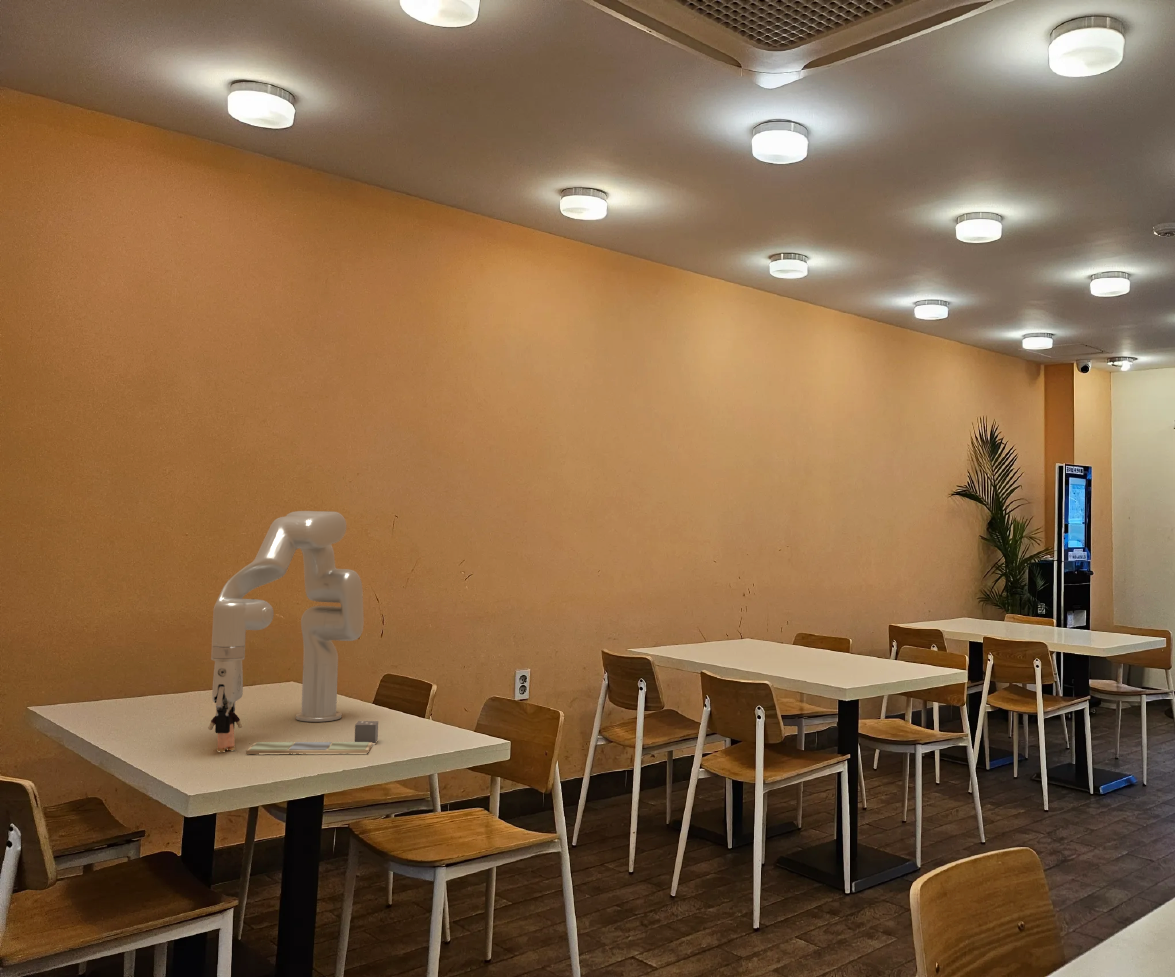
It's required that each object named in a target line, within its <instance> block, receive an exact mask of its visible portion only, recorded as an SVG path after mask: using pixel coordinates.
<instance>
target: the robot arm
mask: <svg viewBox="0 0 1175 977" xmlns="http://www.w3.org/2000/svg"><path fill="white" fill-rule="evenodd" d="M267 530H268V531H267V532H266V535H265V536H264V538H263V540H262V543H261V545H260V547H259V549H258V552H257V553H256V556H255V558H254V559H253V561H252V562H250V563H249V564H247V565H246V566H244V567H242V569H240V570H238V572H236V573H235V574H233V576H231V577H230V578H229V579H228V580H227V582H226V583H225V584H224V585H223V587H222V588H221V591H220V593H219V595H218V597H217V599H216V602H215V604H214V607H213V611H212V612H213V615H212V632H211V634H212V635H211V654H210V655H211V656H210V660H211V661H213V662H214V665H213V666H214V668H213V677H212V680H213V681H212V691H211V692H212V694H211V695H212V696H211V697H212V702H214V703H215V708H216V709H215V716H216V723H215V725H214V727H215V729H214V733H215V734H218V733H229V732H230V716H229V712H234V713H235V714H236V702H238V701H239V700H240V699H241V698H242V697H243V695H244V694H243V693H244V692H243V687H244V684H243V683H244V682H243V681H244V679H243V676H244V675H243V674H244V672H243V671H244V670H243V669H244V668H243V667H244V666H243V661H245V659H246V656H245V655H246V633H247V632H246V631H249V630H250V631H259V630H264V629H266V628H268V626H269V625H271V623H272V622H273V619H274V615H275V614H274V608H273V606H272V605H271V604H270V603H269V602H268V601H266V600H263V599H258V598H257V599H255V598H244V597H245V595H247V594H248V593H250V592H251V591H253V590H255V589H257V588H259V587H262V586H264V585H267V584H270V583H273V582H275V581H277V580H279V579H281V578H283V577H284V576H285V575H286V574H287V572H288V569H289V566H290V564H291V562H292V560H293V558H294V556H295V553H296V552H297V550H298V549H300V551H301V553H302V557H303V558H302V559H303V560H302V561H303V572H304V573H303V575H304V578H303V579H304V590H305V596H306V597H307V598H308V600H310V601H313V602H317V603H318V602H319V603H332V604H333V603H336V604H340V606H335V605H334V606H333V605H314V606H310V607H309V608H308V607H307V609H306V610H304V612H303V613H302V615H301V619H300V627H301V634H302V641H303V642H302V643H303V659H302V660H303V662H302V664H303V665H302V685H301V686H302V687H301V688H302V690H301V691H302V693H301V711H300V712H298V713H296V714H295V720H297V721H300V722H308V723H309V722H310V723H319V722H320V723H321V722H322V723H323V722H332V721H338V720H340V719H341V718H342V717H343V715H342V714H343V713H342V712H340V711H338V710H337V702H338V701H337V699H338V698H337V697H338V692H337V691H338V675H339V674H338V670H339V669H338V668H339V655H338V654H339V653H338V650H337V648H336V646H335V644H334V642H333V641H337V642H338V641H342V642H345V641H346V642H351V641H352V642H353V641H357V640H358V639H359V638H360V637H361V635H362V634H363V632H364V625H365V623H364V622H365V621H364V620H365V619H364V616H365V615H364V592H363V583H362V578H361V577H360V575H359V574H358V572H357V571H356V570H353V569H349V568H337V567H336V561H335V560H336V559H335V551H334V547H333V544H337V543H338V542H340V541H342V539H343V538H344V536H345V535H346V532H347V521H346V518H345V517H344V516H343V515H342V513H340V512H338V511H326V510H324V511H323V510H321V511H319V510H318V511H316V510H297V511H292V512H289V513H287V514H286V516H280V517H278V518H275V519H274V521H272V522H271V524H270V526H269V528H268V529H267ZM223 700H227V702H223ZM230 702H231V703H233V706H232V708H231V710H230V711H229V709H230ZM223 705H226V707H225V706H223ZM235 724H236V722H234V721H233V726H234V727H235Z"/></svg>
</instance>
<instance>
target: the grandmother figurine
mask: <svg viewBox="0 0 1175 977" xmlns="http://www.w3.org/2000/svg"><path fill="white" fill-rule="evenodd" d="M223 702H227V700H223ZM223 706H225V707H226V705H223ZM232 706H233V703H231V702H230V709H229V711H230V710H231V708H232ZM229 716H230V732H229V733H217V748H216V750H218V751H220V752H219V753H224V752H223V751H225V750H227V749H228V750H235V748H236V746H235V745H236V744H235V726H233V721H234V722H235V724H236V726H237V728H239V729H241V728H243V724H242V722H241V718H240V717H239V716H238V715H237V713H236V712H235V713H234V712H229ZM215 723H216V715H215V716H214V717H212V719H211V720H210V723H209V725H208V730H210V731H211V730H213V729H214V727H215ZM228 750H227V751H228ZM235 751H236V750H235Z"/></svg>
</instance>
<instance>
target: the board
mask: <svg viewBox="0 0 1175 977" xmlns="http://www.w3.org/2000/svg"><path fill="white" fill-rule="evenodd" d="M371 746H372V747H373V745H372V742H355V741H333V742H332V741H295V742H294V741H284V742H283V741H279V742H278V741H277V742H276V741H275V742H274V741H269V742H268V741H267V742H266V741H265V742H263V741H261V742H260V741H259V742H253V744H251V745H250V747H249V748H247V750H245V755H246V754H259V753H289V754H291V753H292V754H293V753H296V754H299V753H303V754H306V753H368V752H369V753H370V751H371V749H372V748H371ZM370 748H371V749H370ZM369 750H370V751H369ZM369 753H368V754H369Z"/></svg>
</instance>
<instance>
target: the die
mask: <svg viewBox="0 0 1175 977" xmlns="http://www.w3.org/2000/svg"><path fill="white" fill-rule="evenodd" d="M354 726H355V727H354V742H372V743H376V741H377V740H378V739H379V738H378V737H379V721H378V720H377V721H376V720H358V721H357V722H356V723H355V725H354ZM378 741H379V740H378ZM378 741H377V742H378ZM376 744H377V743H376Z"/></svg>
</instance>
